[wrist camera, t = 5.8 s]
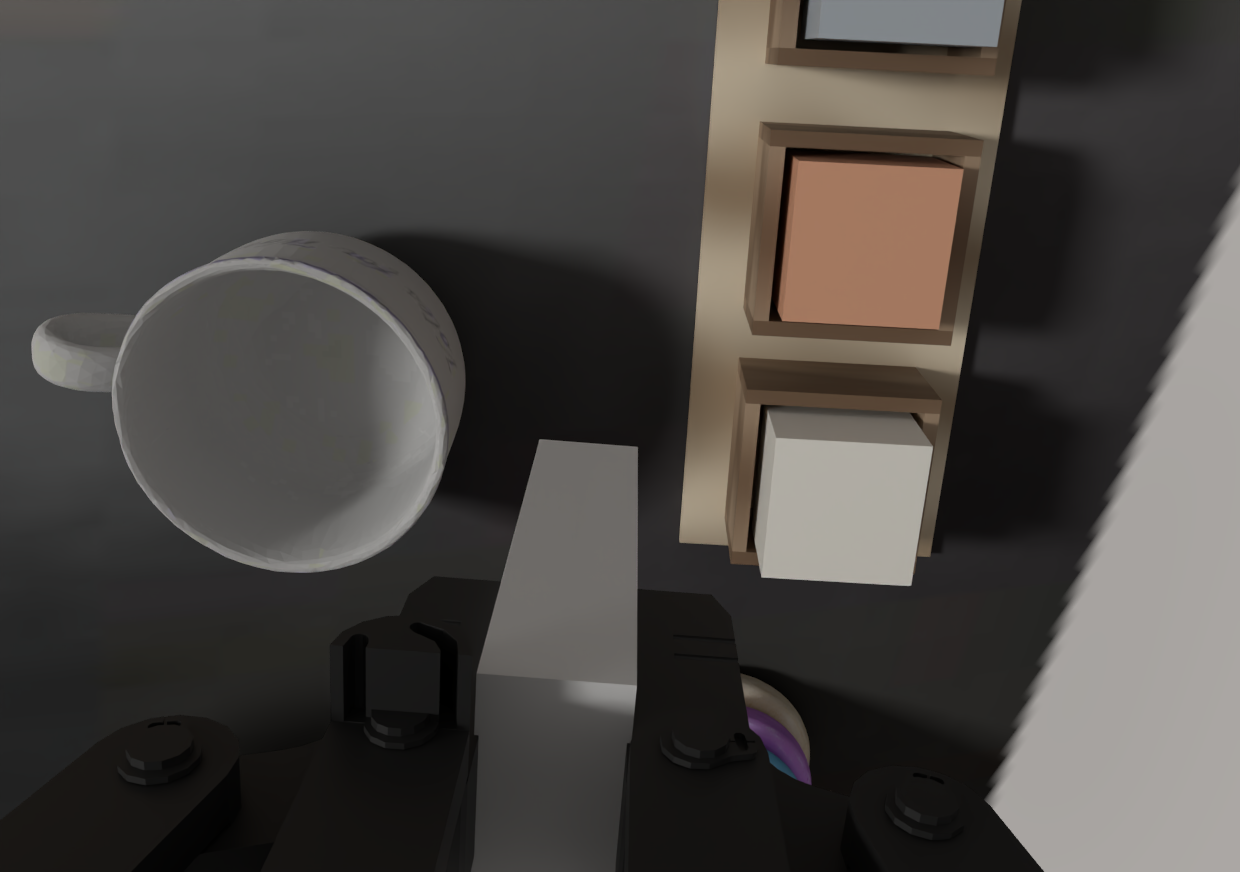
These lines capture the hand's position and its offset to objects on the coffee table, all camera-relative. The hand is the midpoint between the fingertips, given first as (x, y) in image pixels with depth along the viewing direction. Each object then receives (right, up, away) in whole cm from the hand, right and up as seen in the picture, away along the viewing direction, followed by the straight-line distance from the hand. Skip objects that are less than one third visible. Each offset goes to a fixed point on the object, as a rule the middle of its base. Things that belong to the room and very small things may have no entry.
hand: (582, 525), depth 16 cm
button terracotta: (+8, +9, +20) cm, 24 cm away
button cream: (+8, 0, +22) cm, 23 cm away
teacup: (-11, +5, +24) cm, 27 cm away
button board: (+9, +9, +22) cm, 25 cm away
